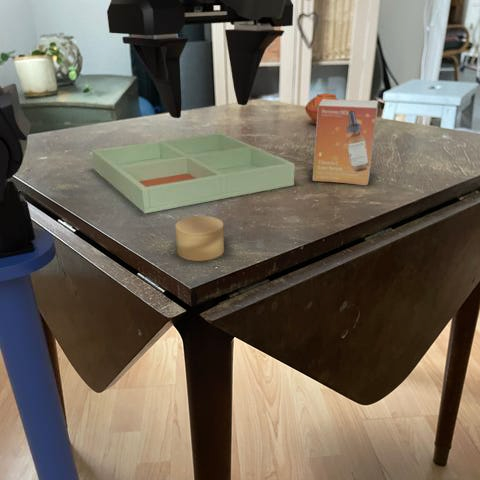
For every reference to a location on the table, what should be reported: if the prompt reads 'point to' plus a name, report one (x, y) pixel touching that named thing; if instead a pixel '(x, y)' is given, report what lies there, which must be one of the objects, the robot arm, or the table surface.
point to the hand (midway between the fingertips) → (210, 110)
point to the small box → (344, 141)
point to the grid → (190, 170)
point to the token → (200, 238)
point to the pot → (313, 105)
